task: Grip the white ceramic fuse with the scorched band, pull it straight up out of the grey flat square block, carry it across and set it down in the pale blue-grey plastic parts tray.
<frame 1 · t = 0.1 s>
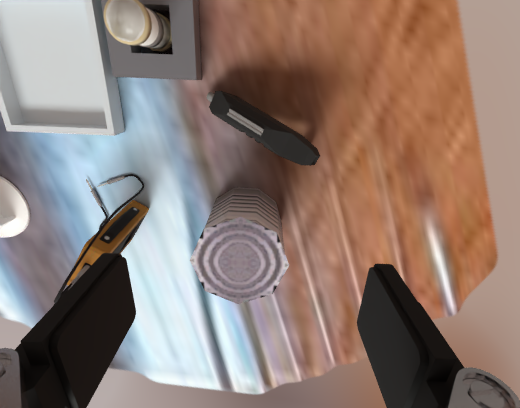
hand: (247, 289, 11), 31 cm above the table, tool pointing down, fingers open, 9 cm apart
parts tray: (60, 65, 36), on the table
multimeter: (112, 207, 45), on the table
can: (245, 218, 45), on the table
grey flat square block: (158, 33, 35), on the table
fuse: (144, 27, 30), in the grey flat square block
gun: (262, 121, 39), on the table
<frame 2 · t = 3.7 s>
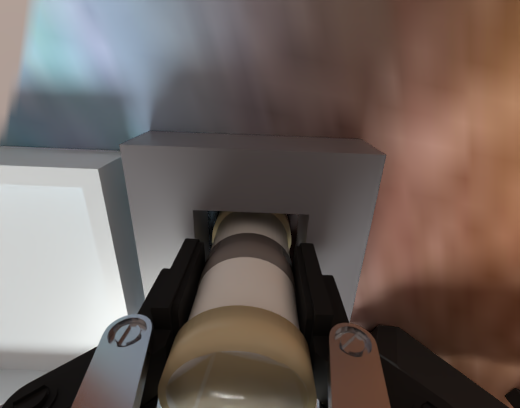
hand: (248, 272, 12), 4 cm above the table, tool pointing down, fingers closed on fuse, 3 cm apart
parts tray: (35, 278, 17), on the table
grey flat square block: (252, 228, 15), on the table
fuse: (247, 283, 11), in the grey flat square block, touching gripper
gun: (436, 359, 20), on the table
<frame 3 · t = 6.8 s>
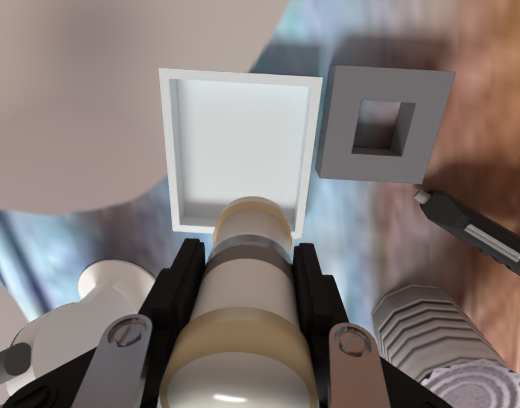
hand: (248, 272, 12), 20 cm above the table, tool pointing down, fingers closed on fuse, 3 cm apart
parts tray: (241, 155, 30), on the table
can: (411, 314, 39), on the table
grey flat square block: (371, 124, 28), on the table
fuse: (248, 284, 11), point 21 cm above the table, touching gripper
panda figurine: (121, 291, 39), on the table
gun: (463, 217, 33), on the table
when the fingers open (6 cm above the table, at t = 9.7 s): fuse drops 2 cm, resting on parts tray.
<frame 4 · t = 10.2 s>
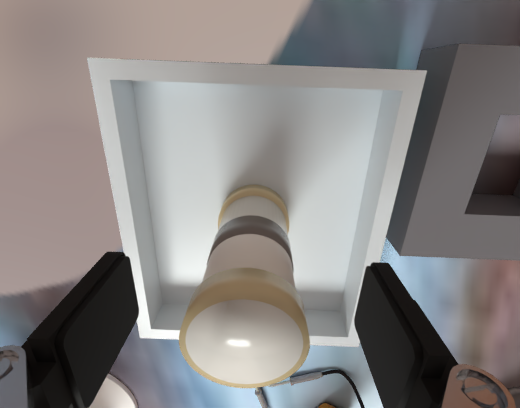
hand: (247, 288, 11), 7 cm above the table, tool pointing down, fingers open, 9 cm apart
parts tray: (254, 209, 18), on the table
multimeter: (281, 407, 26), on the table
grey flat square block: (486, 154, 16), on the table
fuse: (250, 259, 13), in the parts tray, point 5 cm above the table
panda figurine: (74, 398, 26), on the table
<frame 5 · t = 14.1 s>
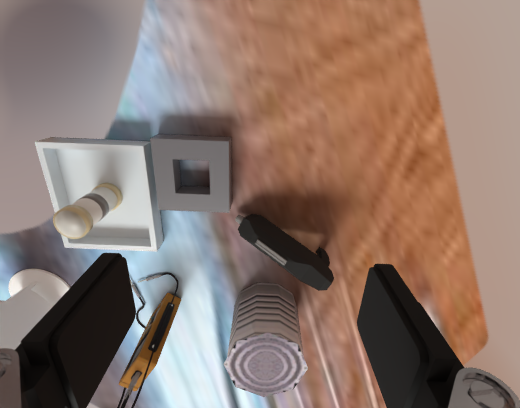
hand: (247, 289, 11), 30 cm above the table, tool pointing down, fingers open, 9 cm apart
parts tray: (111, 193, 42), on the table
multimeter: (148, 297, 51), on the table
can: (265, 306, 51), on the table
grey flat square block: (196, 170, 41), on the table
fuse: (91, 208, 38), in the parts tray, point 5 cm above the table
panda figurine: (42, 292, 51), on the table
gun: (281, 232, 45), on the table
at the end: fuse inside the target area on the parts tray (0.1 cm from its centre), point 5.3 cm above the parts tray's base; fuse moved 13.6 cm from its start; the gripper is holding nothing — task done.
